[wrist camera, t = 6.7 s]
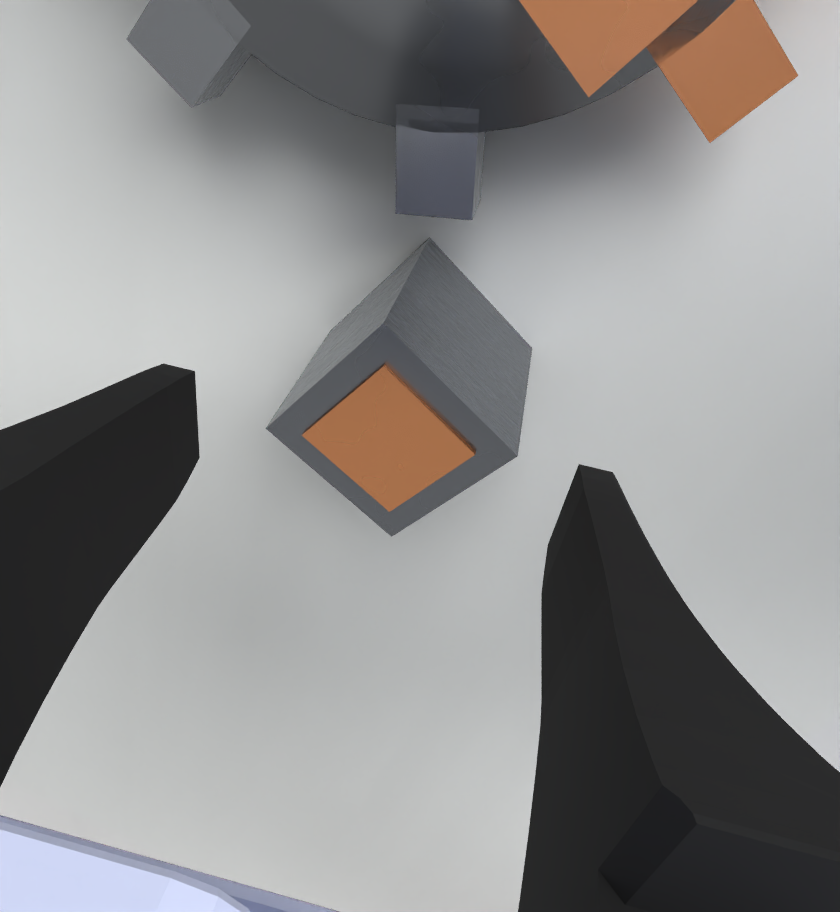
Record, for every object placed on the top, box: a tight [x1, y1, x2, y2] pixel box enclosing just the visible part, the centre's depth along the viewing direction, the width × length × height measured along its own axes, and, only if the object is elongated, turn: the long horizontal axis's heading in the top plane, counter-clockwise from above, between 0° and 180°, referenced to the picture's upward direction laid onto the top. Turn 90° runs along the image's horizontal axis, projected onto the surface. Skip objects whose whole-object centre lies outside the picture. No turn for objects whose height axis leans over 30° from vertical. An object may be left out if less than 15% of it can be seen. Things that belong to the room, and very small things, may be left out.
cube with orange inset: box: [266, 238, 532, 536], centre depth 15 cm, size 4×4×4 cm
